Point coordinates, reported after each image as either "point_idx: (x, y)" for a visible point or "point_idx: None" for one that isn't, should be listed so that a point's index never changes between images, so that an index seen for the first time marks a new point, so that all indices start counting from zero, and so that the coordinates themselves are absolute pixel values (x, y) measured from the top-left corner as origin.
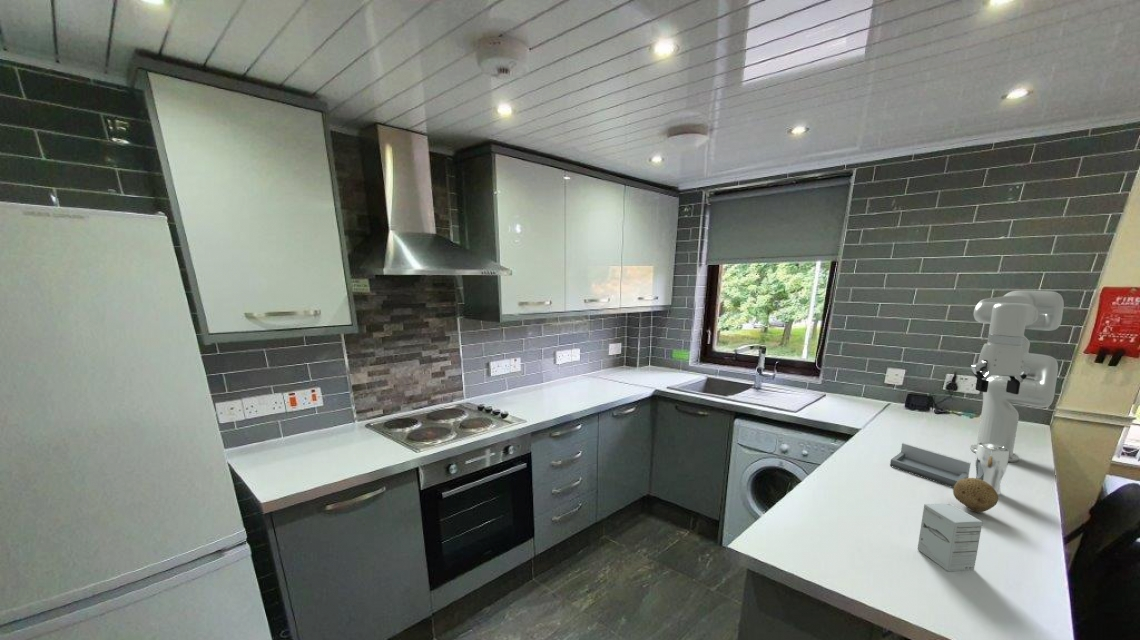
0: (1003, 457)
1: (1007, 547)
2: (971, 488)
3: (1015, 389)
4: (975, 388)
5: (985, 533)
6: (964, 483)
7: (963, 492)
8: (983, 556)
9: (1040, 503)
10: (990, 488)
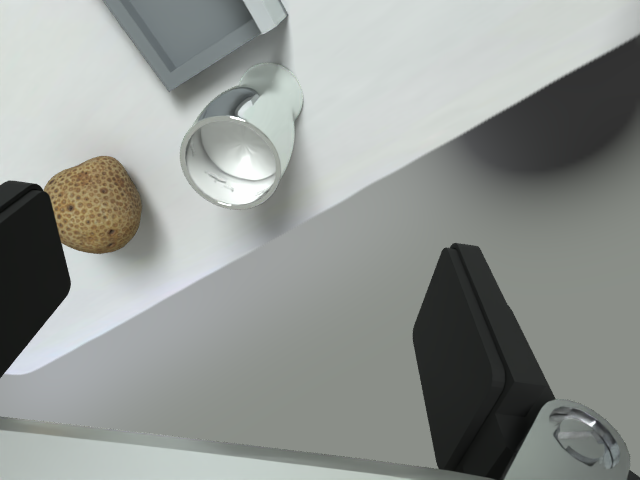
0: (234, 196)
1: (88, 280)
2: None
3: (424, 369)
4: (2, 185)
5: None
6: None
7: None
8: None
9: (359, 173)
10: (93, 251)
